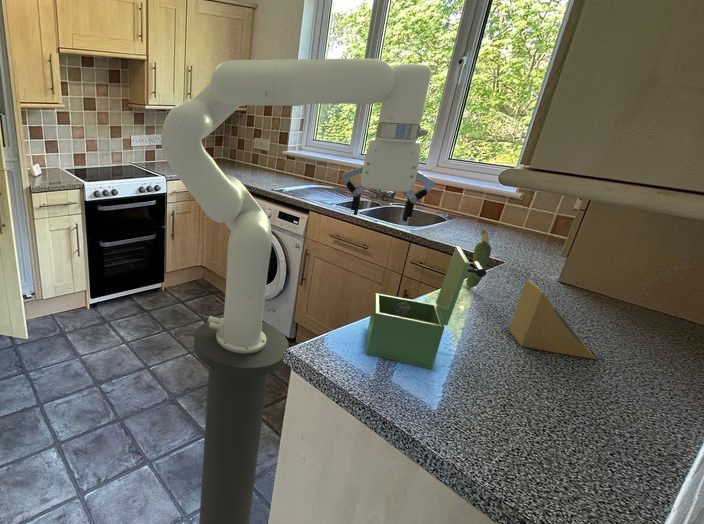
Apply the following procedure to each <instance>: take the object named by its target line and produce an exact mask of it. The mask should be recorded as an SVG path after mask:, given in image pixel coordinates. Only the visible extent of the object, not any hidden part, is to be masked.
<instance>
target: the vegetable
mask: <svg viewBox="0 0 704 524" xmlns="http://www.w3.org/2000/svg"><path fill="white" fill-rule="evenodd" d="M480 235H481V241H480V242H477V243H476V244H475V247H474V249H473V256H472V257H473V258H472V263H473V262H475V261H478V262H480V263H481V265H482V266H483V267H484V269H485V270H486V269H487V265H488V264H489V260H490V257H491V255H492V254H491V253H492V246H491V244H490V235H489V232H488V231H487V230H485V229H483V230H481V231H480ZM471 268H472V267H471ZM472 269H473V268H472ZM482 278H483V277H478V276H477V275H476V273H471V272H468V276H467V278H466V280H465V281H466V283H465V287H467V289H469V290H470V289H473V288H475V287H476V286H478V285H479V283H480V282H481V281H482Z"/></svg>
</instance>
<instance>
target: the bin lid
mask: <svg viewBox="0 0 704 524" xmlns="http://www.w3.org/2000/svg"><path fill="white" fill-rule="evenodd" d="M449 261H450V262H449V264H448V267H447V270H446V273H445V275H444V278H443V282H442V284H441V286H440V290H439V293H438V296H437V297H436V298H437V299H436V301H435V304H436V305H437V307H438V310H439V313H440V316H441V319H442V323H443V325H444V326H448V325H449V322H450V319H451V317H452V314H453V311H454V309H455V306H456V303H457V300H458V298H459V295H460V293H461V290H462V287H463V284H464V282H465V279H466V276H467V273H470V272H471V273H476V275H477V276H478V277H482V278H484V277H485V276H486V275H487V270H486V269H484V267H483V266H482V265H481V263H480V262H478V261H475V262H473V261H472V262H470V261H469V259H468V258H467V256H466V254H465V252H464V251H463V250H462V248H461V246H457V245H456V246H455V247H454V250H453V253H452V255H451V259H450V260H449ZM472 268H473V269H472Z"/></svg>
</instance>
